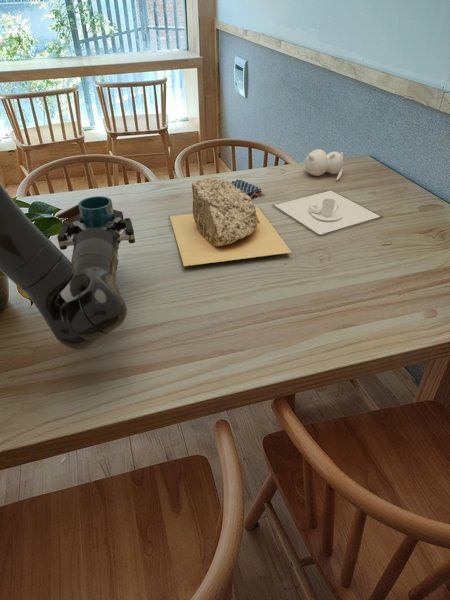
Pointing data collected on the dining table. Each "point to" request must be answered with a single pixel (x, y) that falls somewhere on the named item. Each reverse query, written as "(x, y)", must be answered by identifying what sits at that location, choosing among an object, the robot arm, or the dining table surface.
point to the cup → (96, 211)
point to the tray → (74, 214)
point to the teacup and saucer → (326, 212)
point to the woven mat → (247, 188)
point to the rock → (224, 226)
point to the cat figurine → (324, 163)
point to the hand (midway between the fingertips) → (99, 216)
